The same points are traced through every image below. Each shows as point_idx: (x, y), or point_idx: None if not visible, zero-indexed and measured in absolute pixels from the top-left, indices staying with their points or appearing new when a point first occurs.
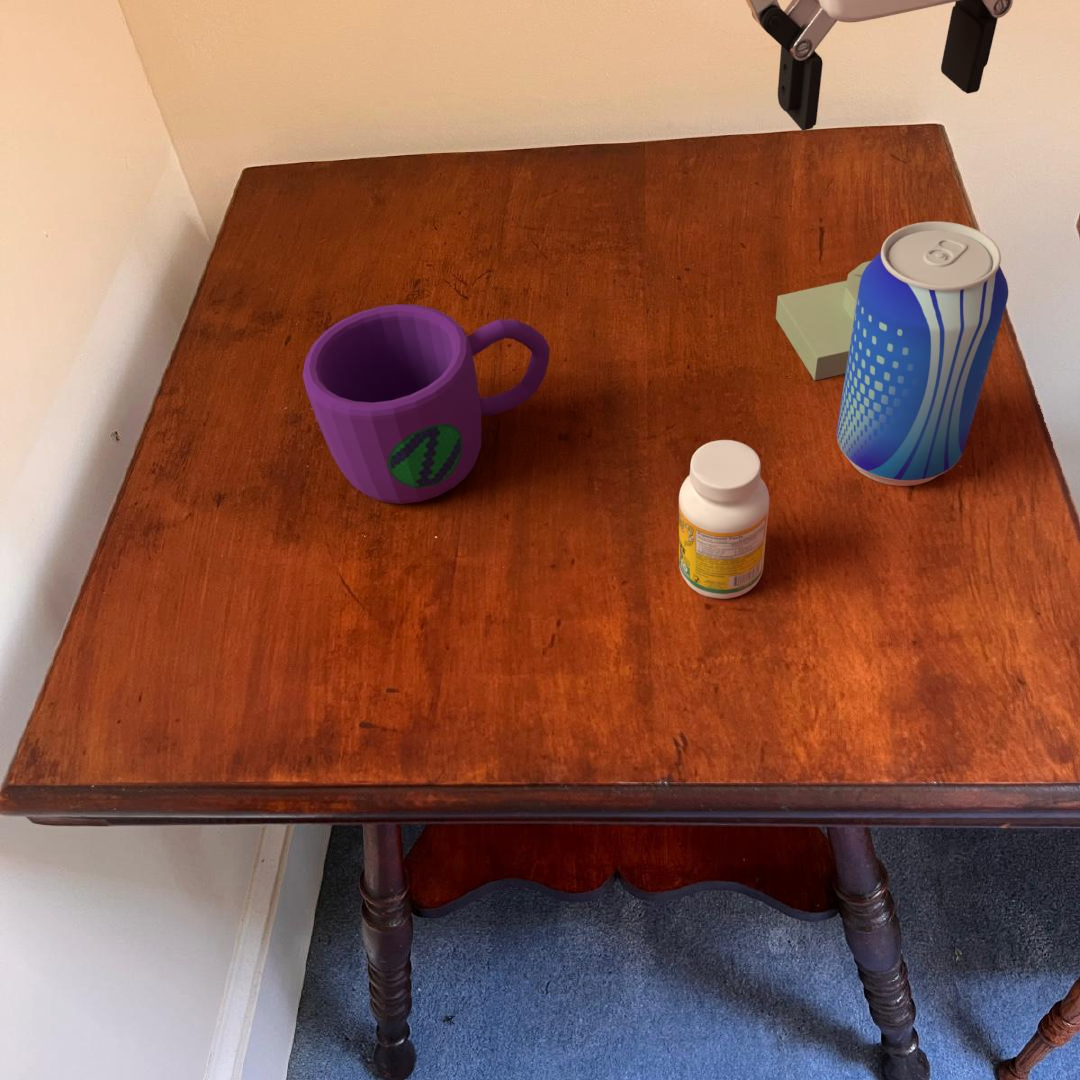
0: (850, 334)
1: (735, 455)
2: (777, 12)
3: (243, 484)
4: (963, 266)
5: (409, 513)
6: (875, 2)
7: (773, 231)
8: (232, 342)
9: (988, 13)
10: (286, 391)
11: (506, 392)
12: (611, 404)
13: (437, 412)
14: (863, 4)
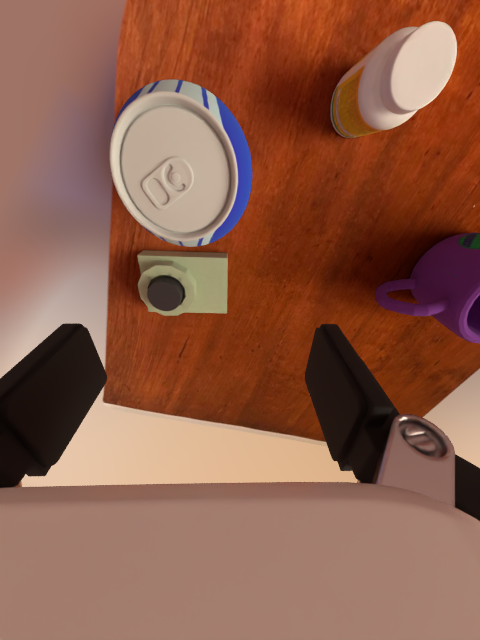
0: (201, 270)
1: (408, 77)
2: None
3: None
4: (157, 146)
5: (472, 230)
6: (361, 567)
7: (202, 361)
8: (457, 368)
9: None
10: None
11: (396, 288)
12: (334, 273)
13: None
14: (422, 570)
